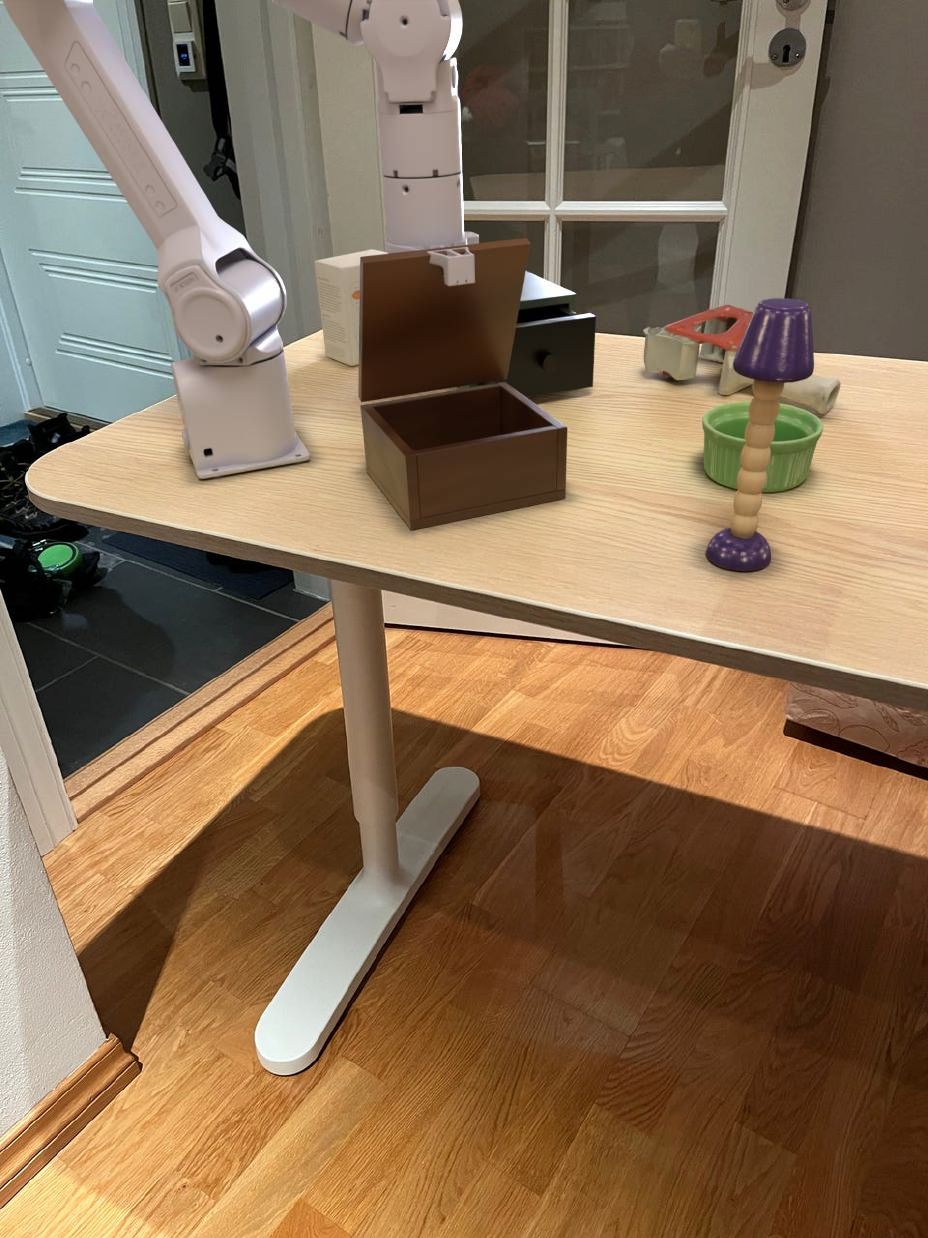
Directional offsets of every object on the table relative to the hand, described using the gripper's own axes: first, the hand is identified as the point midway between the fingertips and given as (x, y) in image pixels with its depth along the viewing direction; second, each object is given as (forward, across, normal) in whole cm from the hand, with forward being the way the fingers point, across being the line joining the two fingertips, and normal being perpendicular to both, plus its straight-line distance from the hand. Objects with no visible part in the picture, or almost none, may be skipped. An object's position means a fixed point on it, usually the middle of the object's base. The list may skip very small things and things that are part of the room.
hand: (432, 360), depth 72 cm
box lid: (-3, -3, 0) cm, 4 cm away
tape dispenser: (+9, +5, -33) cm, 34 cm away
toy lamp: (+9, -25, -13) cm, 29 cm away
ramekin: (+9, -14, -22) cm, 27 cm away
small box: (+9, +32, -3) cm, 33 cm away
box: (+8, -6, 0) cm, 10 cm away
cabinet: (+8, +20, -14) cm, 26 cm away
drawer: (+7, +14, -14) cm, 21 cm away
